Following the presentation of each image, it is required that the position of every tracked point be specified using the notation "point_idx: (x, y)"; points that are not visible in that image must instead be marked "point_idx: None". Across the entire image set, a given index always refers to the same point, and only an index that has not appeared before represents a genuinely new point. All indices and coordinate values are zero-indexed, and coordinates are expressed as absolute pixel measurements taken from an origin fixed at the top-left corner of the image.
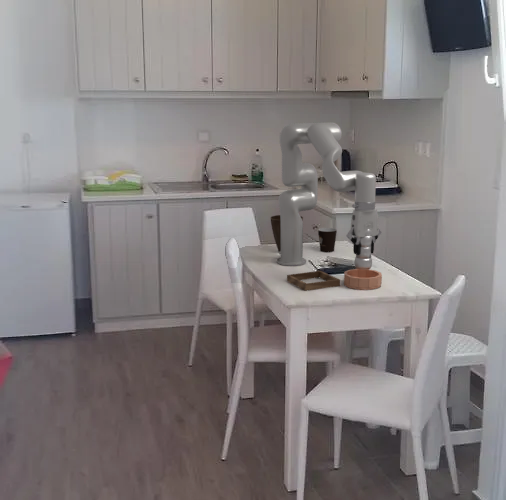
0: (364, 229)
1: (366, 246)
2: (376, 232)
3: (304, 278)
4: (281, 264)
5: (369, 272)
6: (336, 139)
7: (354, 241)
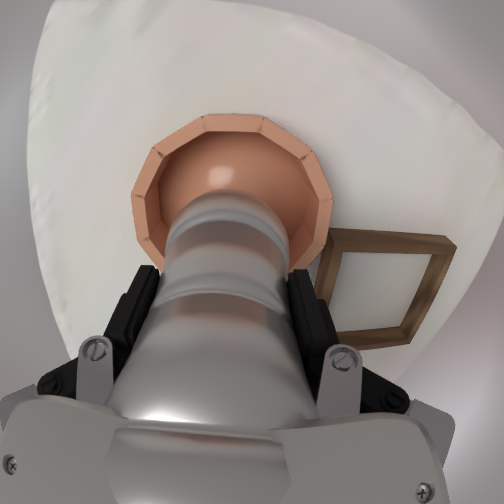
0: None
1: (235, 299)
2: (32, 432)
3: (361, 332)
4: None
5: (164, 250)
6: None
7: (370, 382)
